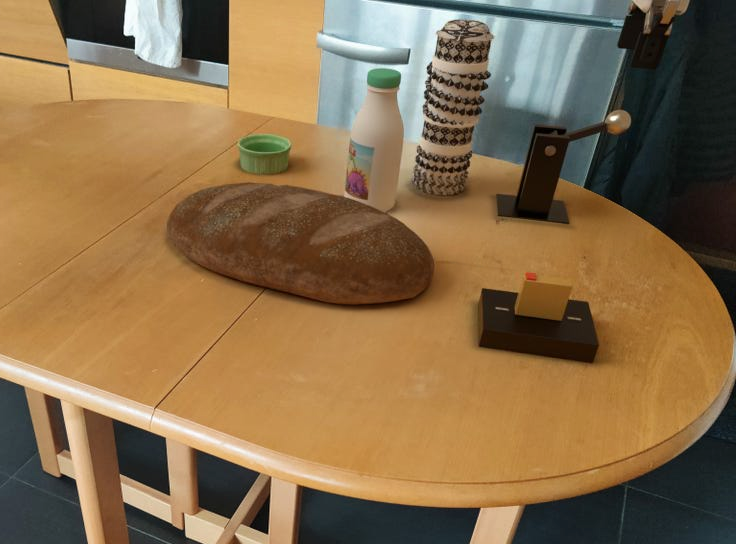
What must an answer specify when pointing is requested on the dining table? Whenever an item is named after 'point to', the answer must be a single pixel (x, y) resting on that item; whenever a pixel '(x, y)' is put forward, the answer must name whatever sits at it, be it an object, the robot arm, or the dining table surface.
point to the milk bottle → (376, 143)
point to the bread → (302, 243)
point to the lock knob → (543, 296)
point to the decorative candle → (452, 106)
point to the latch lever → (602, 126)
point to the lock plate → (536, 329)
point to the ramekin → (264, 153)
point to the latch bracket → (539, 179)
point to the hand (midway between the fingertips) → (635, 57)
